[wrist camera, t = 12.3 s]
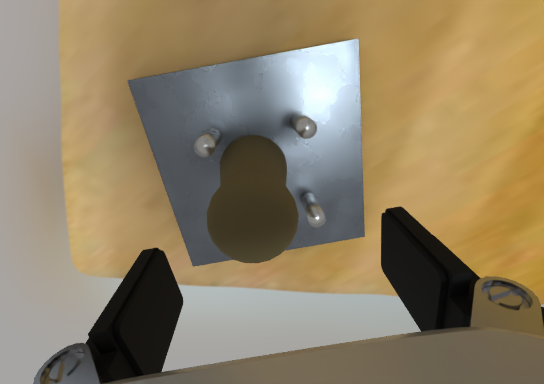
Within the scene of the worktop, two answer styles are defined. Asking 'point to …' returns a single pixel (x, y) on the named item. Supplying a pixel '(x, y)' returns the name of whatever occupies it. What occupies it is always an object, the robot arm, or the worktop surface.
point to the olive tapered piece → (252, 202)
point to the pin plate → (268, 123)
